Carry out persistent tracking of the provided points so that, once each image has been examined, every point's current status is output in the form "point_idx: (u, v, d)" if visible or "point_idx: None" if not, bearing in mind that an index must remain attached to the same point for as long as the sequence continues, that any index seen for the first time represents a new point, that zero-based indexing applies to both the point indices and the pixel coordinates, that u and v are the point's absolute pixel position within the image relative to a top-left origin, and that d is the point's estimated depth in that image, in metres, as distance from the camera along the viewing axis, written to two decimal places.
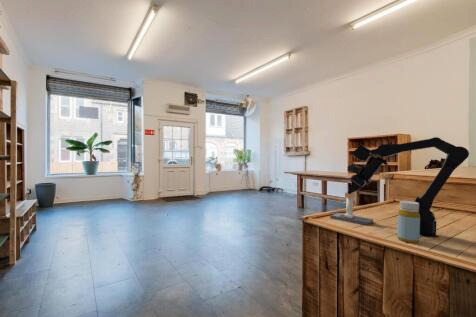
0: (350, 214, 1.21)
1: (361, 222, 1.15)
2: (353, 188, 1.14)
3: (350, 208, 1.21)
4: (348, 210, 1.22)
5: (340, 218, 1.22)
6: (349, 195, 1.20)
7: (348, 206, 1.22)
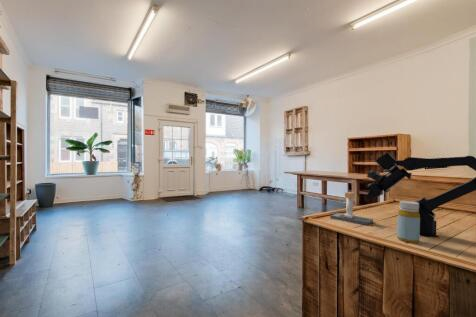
0: (350, 214, 1.21)
1: (361, 222, 1.15)
2: (371, 194, 1.15)
3: (350, 208, 1.21)
4: (348, 210, 1.22)
5: (340, 218, 1.22)
6: (349, 195, 1.20)
7: (348, 206, 1.22)
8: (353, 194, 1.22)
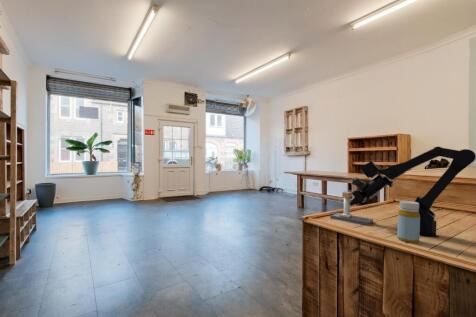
0: (347, 214, 1.22)
1: (361, 222, 1.15)
2: (355, 201, 1.20)
3: (347, 208, 1.22)
4: (345, 210, 1.23)
5: (340, 218, 1.22)
6: (346, 195, 1.21)
7: (345, 206, 1.23)
8: (350, 194, 1.23)
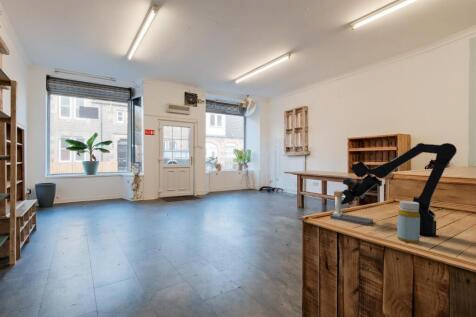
0: (339, 212, 1.25)
1: (361, 222, 1.15)
2: (346, 200, 1.23)
3: (339, 206, 1.25)
4: (337, 208, 1.26)
5: (340, 218, 1.22)
6: (338, 194, 1.24)
7: (337, 204, 1.26)
8: (342, 193, 1.26)
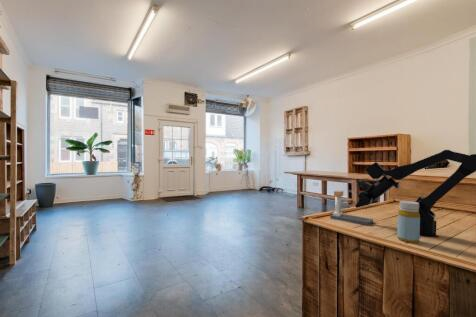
0: (339, 212, 1.25)
1: (361, 222, 1.15)
2: (361, 203, 1.18)
3: (339, 206, 1.25)
4: (337, 208, 1.26)
5: (340, 218, 1.22)
6: (338, 194, 1.24)
7: (337, 204, 1.26)
8: (342, 193, 1.26)
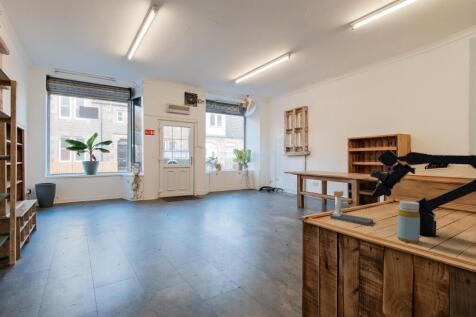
0: (339, 212, 1.25)
1: (361, 222, 1.15)
2: (377, 194, 1.13)
3: (339, 206, 1.25)
4: (337, 208, 1.26)
5: (340, 218, 1.22)
6: (338, 194, 1.24)
7: (337, 204, 1.26)
8: (342, 193, 1.26)
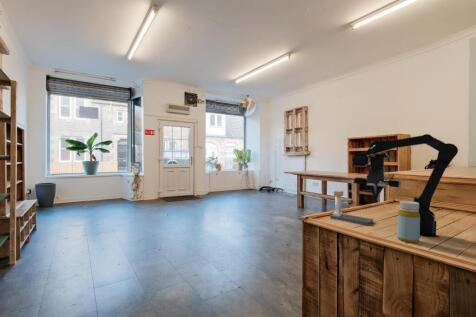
0: (339, 212, 1.25)
1: (361, 222, 1.15)
2: (379, 192, 1.13)
3: (339, 206, 1.25)
4: (337, 208, 1.26)
5: (340, 218, 1.22)
6: (338, 194, 1.24)
7: (337, 204, 1.26)
8: (342, 193, 1.26)
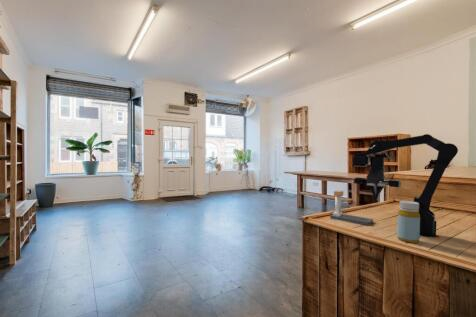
0: (339, 212, 1.25)
1: (361, 222, 1.15)
2: (379, 192, 1.13)
3: (339, 206, 1.25)
4: (337, 208, 1.26)
5: (340, 218, 1.22)
6: (338, 194, 1.24)
7: (337, 204, 1.26)
8: (342, 193, 1.26)
